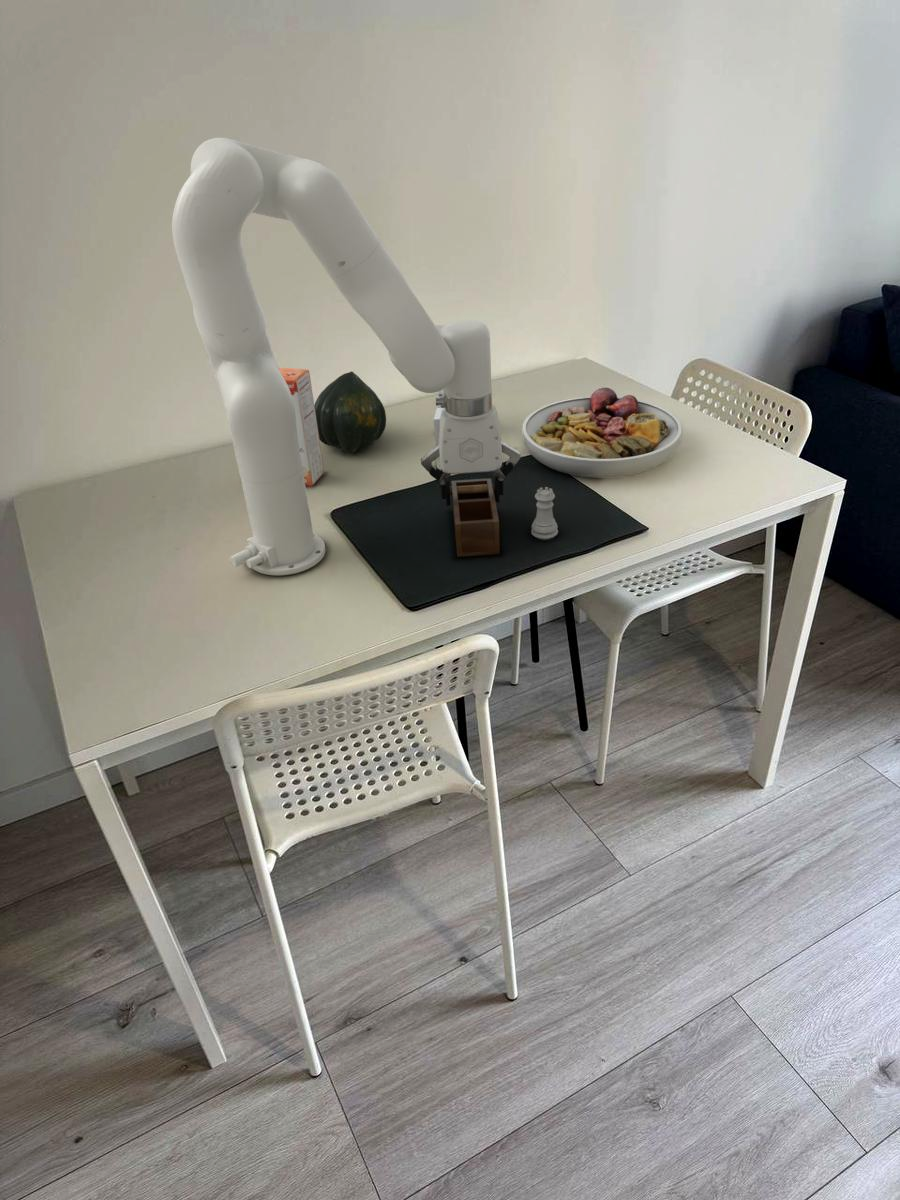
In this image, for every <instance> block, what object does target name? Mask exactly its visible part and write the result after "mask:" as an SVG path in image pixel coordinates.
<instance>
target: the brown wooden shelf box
mask: <svg viewBox="0 0 900 1200" xmlns="http://www.w3.org/2000/svg"><path fill="white" fill-rule="evenodd" d="M450 484H451V486H450V496H452V497H451V500H452V514H453V515H452V516H453V524H454V525H453V526H454V537H455V538H454V539H455V547H456V548H455V549H456V556H457V558H460V557H461V558H462V557H477V556H492V555H500V554H501V552H500V551H501V549H500V548H501V547H500V544H501V543H500V520H499V519H500V518H499V514H498V509H497V502H495V497H494V492H495V486H494V483H493V481H492V478H474V479H473V478H472V479H461V480H451V483H450Z"/></svg>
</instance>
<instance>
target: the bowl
mask: <svg viewBox="0 0 900 1200" xmlns="http://www.w3.org/2000/svg"><path fill="white" fill-rule="evenodd" d="M682 433H683V425H682V423H681V422H680V420H679V418H677V416H675V415H674V414H673V413H672V412H670V411H669V410H667V409H665V408H663V407H661V406H659V405H656V404H654V403H650V402H648V401H643V400H640V399H637V397H636V396H635V395H632V394H626V395H624V396H622V397H621V396H620V397H619V396H618V395H617V393H616V391H615V390H614V389H612V388H610V387H601V388H597V389H596V390H594V391H593V392H592V394H591V395H590V396H582V397H574V398H567V399H563V400H558V401H554V402H552V403H549V404H545V405H543V406H541V407H539V408H537V409H535V410H534V411H532V412H531V413H530V414H529V415H528V416H526V418H525V419H524V421H523V423H522V433H521V434H522V441H523V443H524V445H525V448H526V449H527V451H528V452H529V453H530V455H531V456H532V457H533V458H534V459H535V460H537V461H538V462H540V464H542V465H544V466H546V467H548V468H550V469H551V470H554V471H556V472H559V473H563V474H567V475H571V476H576V477H583V478H592V479H593V478H594V479H595V478H596V479H613V478H621V477H629V476H634V475H638V474H642V473H645V472H647V471H650V470H652V469H655V468H657V467H658V466H661V465H662V464H664V463H665V462H667V461H668V460H669V459H670V458H671V457H672V456H673V455H674V454H675V452H676V451H677V450H678V447H679V446H680V443H681V440H682Z"/></svg>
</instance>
